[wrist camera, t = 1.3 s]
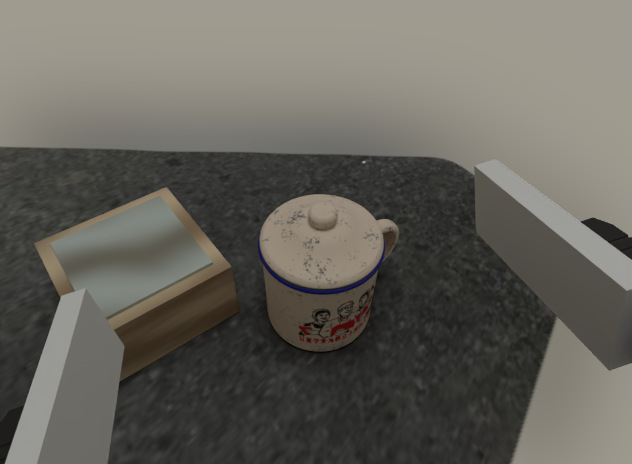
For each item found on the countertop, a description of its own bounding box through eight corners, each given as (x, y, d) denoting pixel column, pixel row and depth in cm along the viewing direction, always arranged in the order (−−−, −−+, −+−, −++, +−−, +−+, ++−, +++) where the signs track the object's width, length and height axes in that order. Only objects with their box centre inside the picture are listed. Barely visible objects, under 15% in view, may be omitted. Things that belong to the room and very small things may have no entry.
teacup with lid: (300, 377, 36) (300, 285, 27) (246, 293, 41) (231, 194, 33) (420, 307, 41) (452, 209, 32) (357, 239, 46) (370, 140, 37)
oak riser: (62, 289, 41) (32, 240, 36) (179, 233, 46) (165, 184, 41) (111, 386, 35) (82, 343, 31) (239, 311, 40) (231, 264, 35)
